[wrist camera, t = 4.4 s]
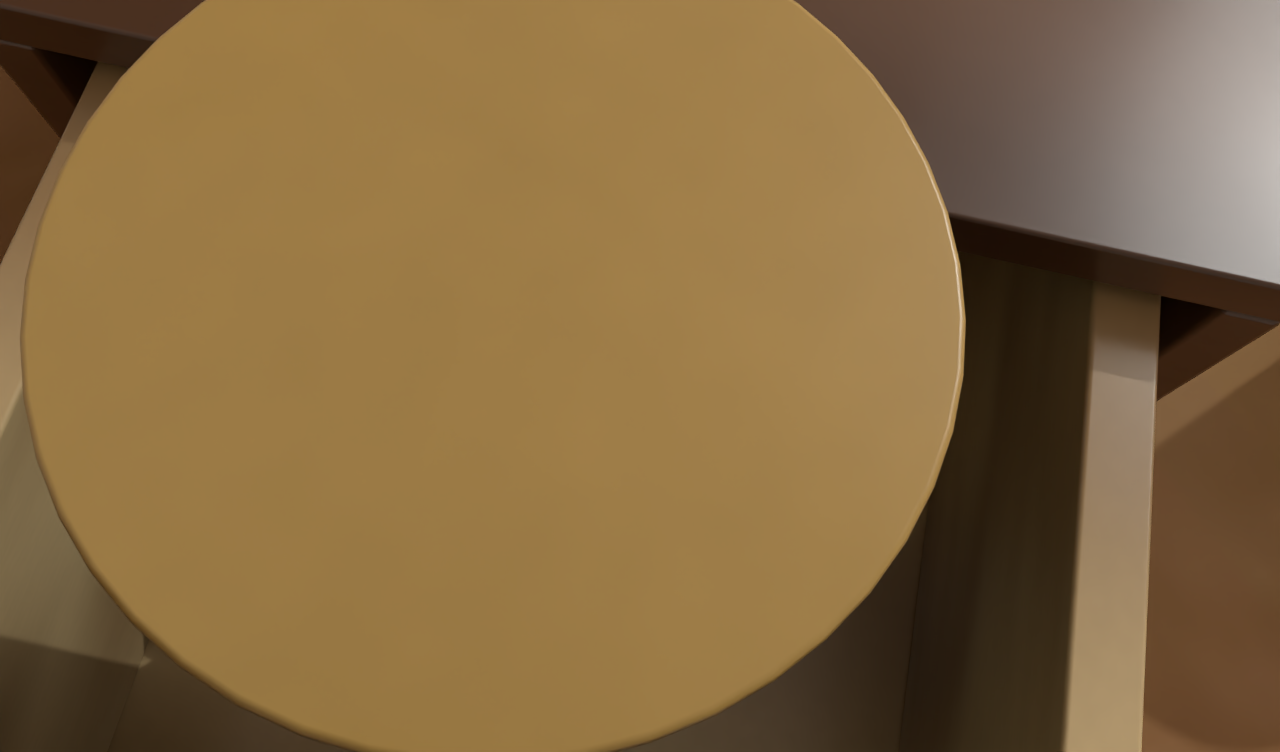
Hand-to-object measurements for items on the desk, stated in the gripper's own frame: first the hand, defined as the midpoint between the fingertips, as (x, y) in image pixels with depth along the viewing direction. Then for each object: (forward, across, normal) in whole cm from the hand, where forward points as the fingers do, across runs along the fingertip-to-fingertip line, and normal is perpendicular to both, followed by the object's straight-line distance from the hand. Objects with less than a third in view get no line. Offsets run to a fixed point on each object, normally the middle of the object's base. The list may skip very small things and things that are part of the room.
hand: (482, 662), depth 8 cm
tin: (+6, 0, +4) cm, 7 cm away
